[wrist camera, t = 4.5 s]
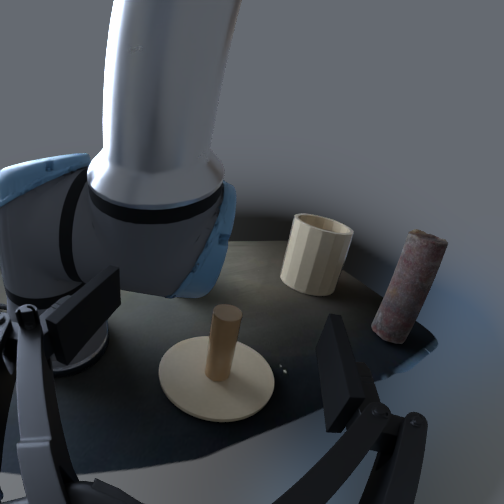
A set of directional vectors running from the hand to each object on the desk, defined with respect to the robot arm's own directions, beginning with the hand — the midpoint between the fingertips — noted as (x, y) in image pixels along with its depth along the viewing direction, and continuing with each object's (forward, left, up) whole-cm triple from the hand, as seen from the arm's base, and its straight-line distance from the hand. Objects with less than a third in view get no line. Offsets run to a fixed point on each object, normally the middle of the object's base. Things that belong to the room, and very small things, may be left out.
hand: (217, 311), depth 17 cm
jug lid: (0, +10, -16) cm, 19 cm away
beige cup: (+14, +43, -17) cm, 48 cm away
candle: (+28, +26, -17) cm, 42 cm away
